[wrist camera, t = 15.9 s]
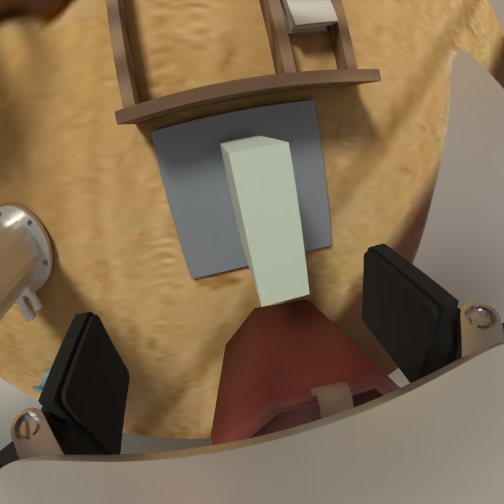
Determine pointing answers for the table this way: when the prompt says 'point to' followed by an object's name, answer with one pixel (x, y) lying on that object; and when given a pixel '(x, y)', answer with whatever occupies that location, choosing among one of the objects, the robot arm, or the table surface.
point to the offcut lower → (305, 29)
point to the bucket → (290, 373)
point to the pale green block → (267, 215)
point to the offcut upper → (308, 13)
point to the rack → (235, 89)
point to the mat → (217, 188)
